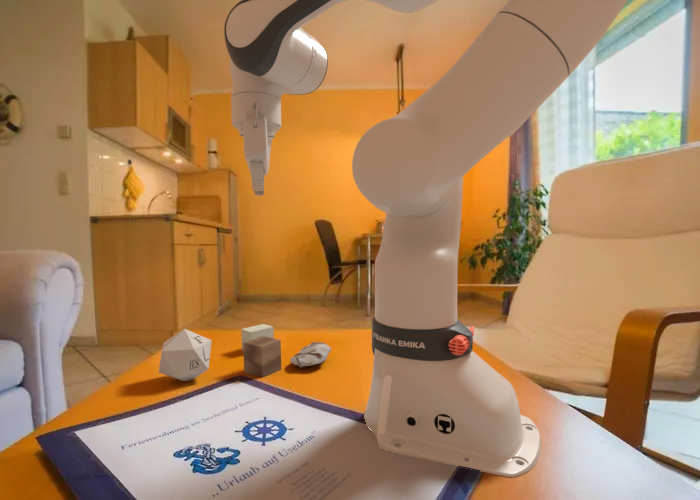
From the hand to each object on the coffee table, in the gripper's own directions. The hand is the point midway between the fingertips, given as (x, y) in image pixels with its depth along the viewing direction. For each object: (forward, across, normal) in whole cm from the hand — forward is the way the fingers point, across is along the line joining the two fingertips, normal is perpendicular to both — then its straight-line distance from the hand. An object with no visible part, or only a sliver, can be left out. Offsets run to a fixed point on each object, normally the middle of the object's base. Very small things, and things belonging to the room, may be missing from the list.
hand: (258, 193), depth 67 cm
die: (+35, -1, +13) cm, 37 cm away
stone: (+35, +4, -13) cm, 37 cm away
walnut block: (+34, +1, 0) cm, 34 cm away
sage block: (+35, +15, +1) cm, 38 cm away
